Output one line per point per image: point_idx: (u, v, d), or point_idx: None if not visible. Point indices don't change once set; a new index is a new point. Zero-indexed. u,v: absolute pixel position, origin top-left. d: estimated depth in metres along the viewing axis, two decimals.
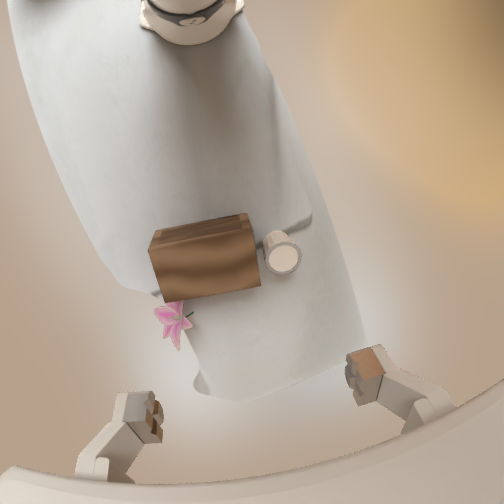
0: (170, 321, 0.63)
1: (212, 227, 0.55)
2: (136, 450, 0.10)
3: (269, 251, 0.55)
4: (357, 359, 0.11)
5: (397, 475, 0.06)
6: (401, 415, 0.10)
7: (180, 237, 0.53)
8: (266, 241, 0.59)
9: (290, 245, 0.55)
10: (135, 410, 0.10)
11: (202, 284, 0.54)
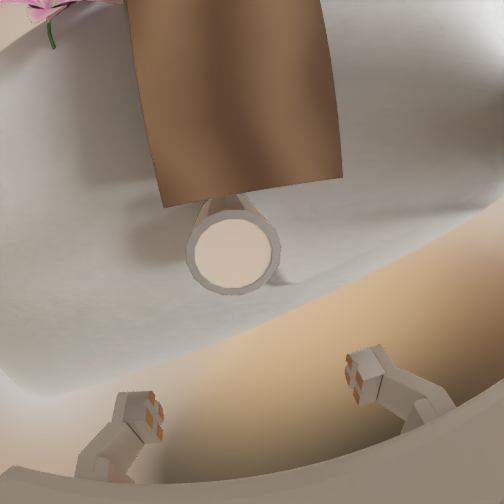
0: None
1: None
2: (136, 450, 0.10)
3: (256, 218, 0.21)
4: (357, 359, 0.11)
5: (397, 475, 0.06)
6: (401, 415, 0.10)
7: None
8: (250, 203, 0.25)
9: (269, 267, 0.23)
10: (135, 410, 0.10)
11: (176, 30, 0.13)
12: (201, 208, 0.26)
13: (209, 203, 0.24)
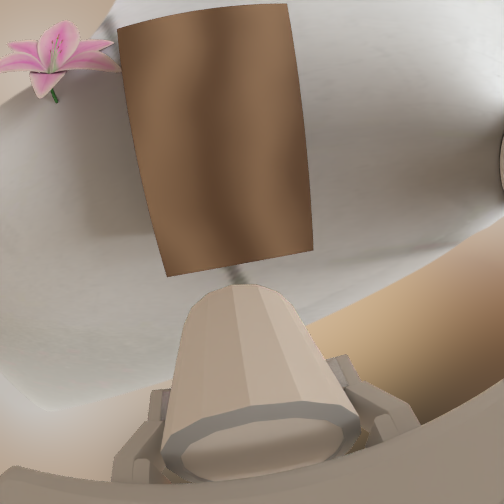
0: (44, 51, 0.17)
1: None
2: None
3: (325, 410, 0.08)
4: None
5: (397, 475, 0.06)
6: (366, 428, 0.09)
7: None
8: (292, 323, 0.11)
9: (331, 458, 0.09)
10: None
11: (171, 127, 0.18)
12: (189, 320, 0.13)
13: (204, 326, 0.11)
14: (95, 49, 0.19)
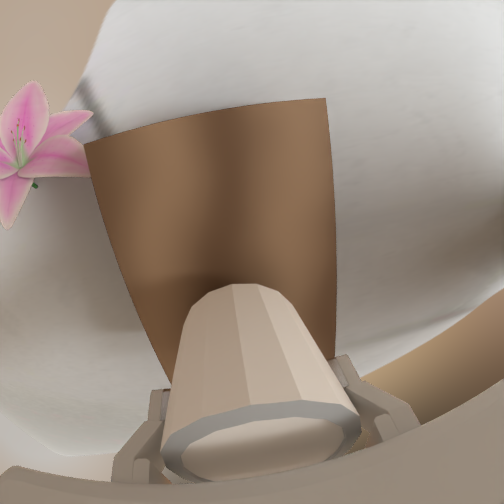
0: (8, 134, 0.15)
1: None
2: None
3: (325, 409, 0.07)
4: None
5: (397, 475, 0.06)
6: (367, 428, 0.09)
7: None
8: (292, 322, 0.11)
9: (331, 458, 0.09)
10: None
11: (174, 282, 0.15)
12: (188, 319, 0.13)
13: (204, 325, 0.11)
14: (70, 129, 0.17)
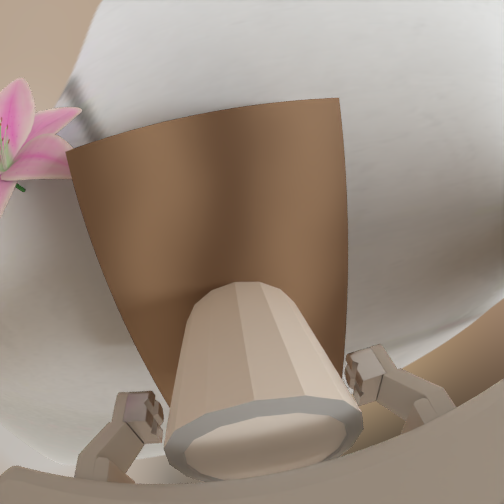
0: None
1: None
2: (136, 450, 0.10)
3: (328, 405, 0.08)
4: (357, 359, 0.11)
5: (397, 475, 0.06)
6: (401, 415, 0.10)
7: None
8: (295, 320, 0.12)
9: (333, 454, 0.09)
10: (135, 410, 0.10)
11: (169, 304, 0.14)
12: (192, 317, 0.13)
13: (208, 322, 0.11)
14: (56, 128, 0.15)
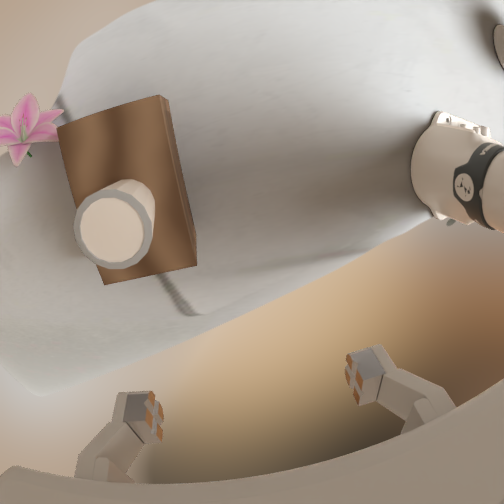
0: (16, 123, 0.26)
1: (183, 195, 0.34)
2: (136, 450, 0.10)
3: (125, 196, 0.21)
4: (357, 359, 0.11)
5: (397, 475, 0.06)
6: (401, 415, 0.10)
7: (172, 147, 0.30)
8: (137, 186, 0.25)
9: (143, 242, 0.23)
10: (135, 410, 0.10)
11: None
12: None
13: None
14: (51, 119, 0.29)
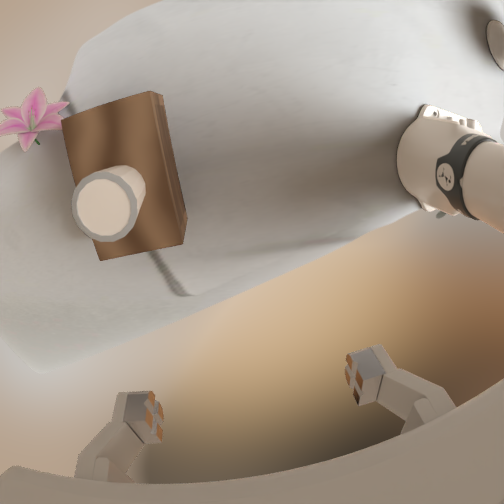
0: (25, 114, 0.30)
1: (174, 180, 0.37)
2: (136, 450, 0.10)
3: (115, 177, 0.24)
4: (357, 359, 0.11)
5: (397, 475, 0.06)
6: (401, 415, 0.10)
7: (162, 137, 0.32)
8: (128, 170, 0.28)
9: (130, 217, 0.26)
10: (135, 410, 0.10)
11: None
12: None
13: None
14: (57, 111, 0.32)
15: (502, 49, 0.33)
